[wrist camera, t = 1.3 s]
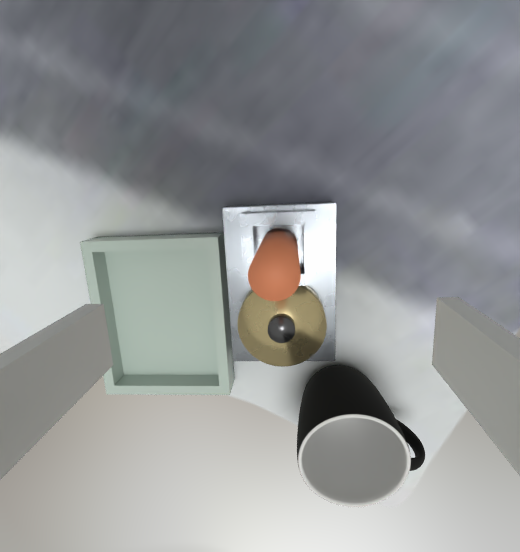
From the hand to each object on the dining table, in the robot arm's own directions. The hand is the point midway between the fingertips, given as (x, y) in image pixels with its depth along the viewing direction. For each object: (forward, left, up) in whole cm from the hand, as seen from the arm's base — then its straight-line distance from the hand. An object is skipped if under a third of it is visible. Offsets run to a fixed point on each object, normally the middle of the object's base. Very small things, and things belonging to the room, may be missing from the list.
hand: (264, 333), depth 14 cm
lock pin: (0, 0, -19) cm, 19 cm away
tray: (+7, -12, -21) cm, 25 cm away
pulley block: (+4, 0, -21) cm, 22 cm away
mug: (+17, +7, -22) cm, 28 cm away
